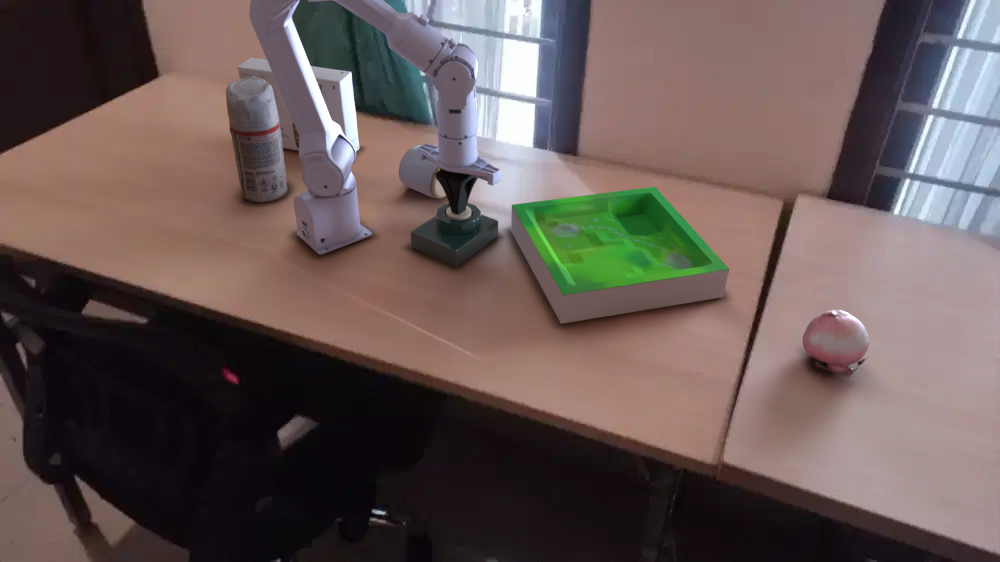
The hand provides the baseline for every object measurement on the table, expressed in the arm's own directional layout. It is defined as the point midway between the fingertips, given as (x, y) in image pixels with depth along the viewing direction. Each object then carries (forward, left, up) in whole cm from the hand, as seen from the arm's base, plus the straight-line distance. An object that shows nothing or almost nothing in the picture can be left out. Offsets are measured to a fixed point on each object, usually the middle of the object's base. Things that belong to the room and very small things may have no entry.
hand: (458, 211), depth 121 cm
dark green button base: (-1, 0, -5) cm, 5 cm away
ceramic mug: (+6, +16, -5) cm, 18 cm away
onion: (+20, -54, -5) cm, 58 cm away
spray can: (-18, +33, -5) cm, 38 cm away
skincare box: (-4, +45, -5) cm, 46 cm away
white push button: (0, 0, -2) cm, 2 cm away
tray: (+14, -20, -5) cm, 25 cm away
